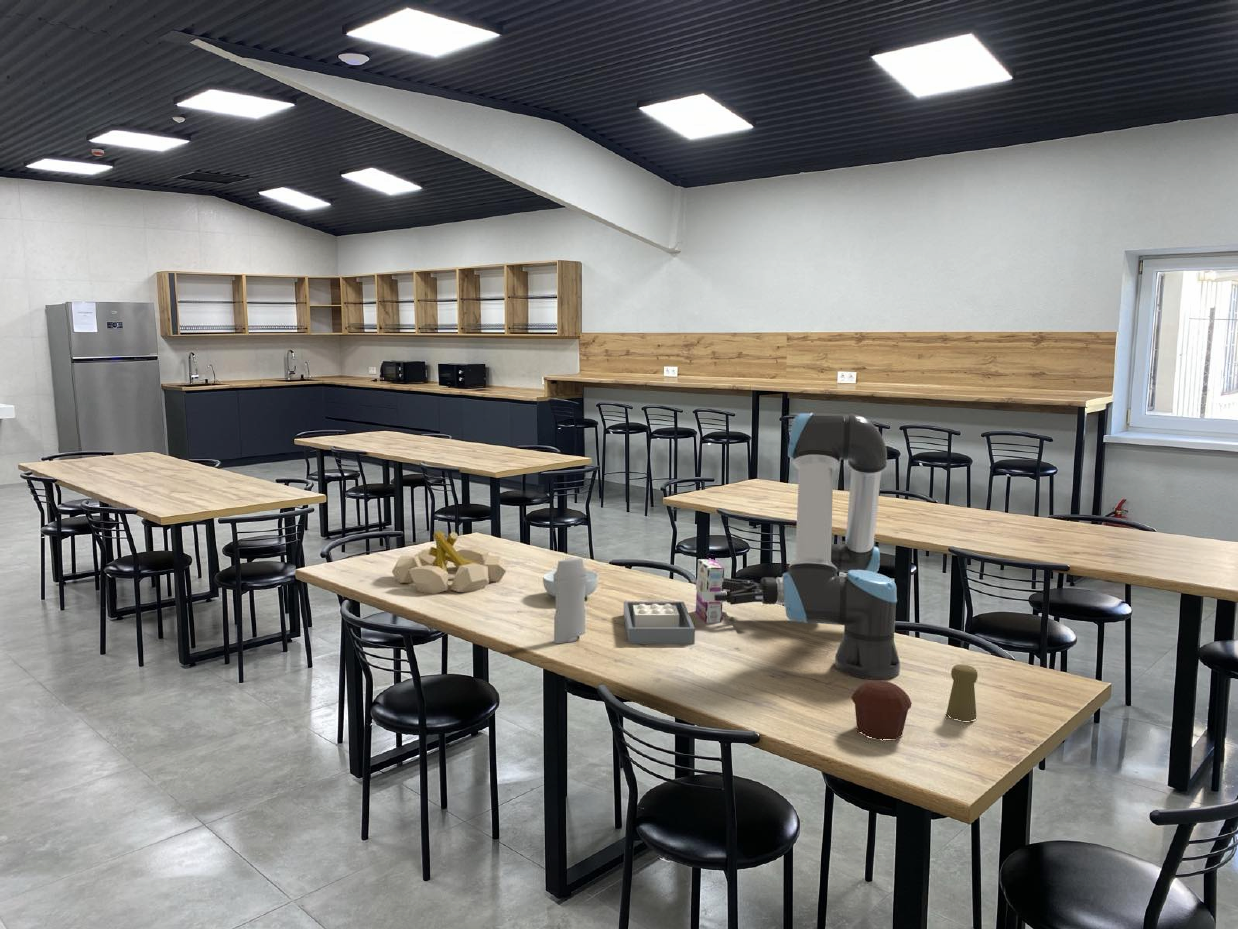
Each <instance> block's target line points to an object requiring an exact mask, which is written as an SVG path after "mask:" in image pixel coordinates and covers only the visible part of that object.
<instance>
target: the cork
mask: <svg viewBox="0 0 1238 929" xmlns="http://www.w3.org/2000/svg"><path fill="white" fill-rule="evenodd" d="M950 671H951V672H950V675H951V678H952V680H953V681H952V686H951V690H950V695H949V699H948V704H947V709H946V713H947V715H949V716H950V717H951V718H953V719H958V720H961V721H971V720H974V719H976V717H977V705H976V690H975V683H976V682H977V680H978V678H979V677H978V671H977V669H976V668H975V667H974V666H971V665H968V664H955V665H954V666H953V667H952V668H951V670H950ZM947 715H946V716H947ZM976 720H977V719H976Z"/></svg>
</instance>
